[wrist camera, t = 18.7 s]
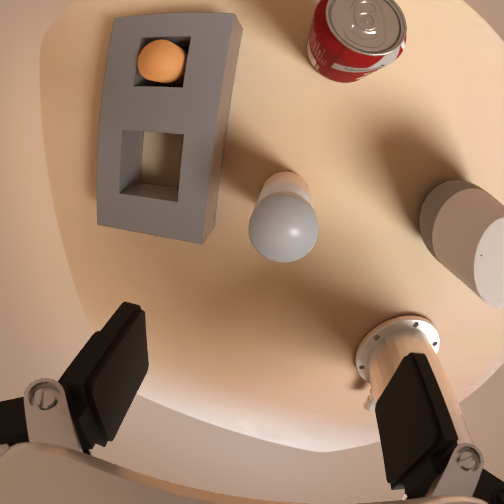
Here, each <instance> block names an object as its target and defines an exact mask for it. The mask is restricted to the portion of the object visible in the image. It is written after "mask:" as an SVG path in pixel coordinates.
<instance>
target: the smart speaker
mask: <svg viewBox="0 0 504 504" xmlns="http://www.w3.org/2000/svg"><path fill="white" fill-rule="evenodd" d="M419 225H420V232H421V236H422V238H423V241H424V243H425V245H426V247H427V248H428V250H429V251H430V253H431V254H432V255H433V256H434V257H435V258H436V259H437V260H438V261H439V262H440V263H441V264H442V265H443V266H444V267H446V268H447V269H448V270H449V271H450V272H451V273H453V274H454V275H455V276H456V277H457V278H458V279H460V280H461V281H462V282H463V283H464V284H465V285H467V286H468V287H469V288H470V289H471V290H472V291H473V292H474V293H476V294H477V295H478V296H479V297H480V298H481V299H482V300H483V301H484V302H486V303H487V304H488V305H490V306H492V307H495V308H504V205H502V204H501V203H500V202H499V201H498V200H496V199H495V198H494V197H493V196H492V195H490V194H489V193H488V192H486V191H485V190H483V189H482V188H480V187H478V186H476V185H475V184H472V183H470V182H467V181H461V180H452V181H447V182H444V183H442V184H440V185H438V186H436V187H435V188H434V189H433V190H432V191H431V192H430V193H429V194H428V196H427V197H426V199H425V200H424V203H423V205H422V208H421V211H420V217H419Z"/></svg>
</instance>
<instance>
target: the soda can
mask: <svg viewBox="0 0 504 504" xmlns="http://www.w3.org/2000/svg"><path fill="white" fill-rule="evenodd" d="M406 31H407V26H406V20H405V17H404V14H403V12H402V10H401V9H400V7H399V6H398V5H397V3H396V2H395V1H394V0H321V1H320V2H319V4H318V5H317V8H316V10H315V14H314V18H313V22H312V27H311V31H310V35H309V39H308V43H307V53H308V57H309V60H310V62H311V64H312V65H313V67H314V68H315V69H316V70H317V71H318V72H319V73H320V74H321V75H323V76H324V77H326V78H328V79H330V80H332V81H336V82H341V83H349V82H354V81H357V80H360V79H362V78H363V77H365V76H367V75H369V74H371V73H373V72H375V71H377V70H379V69H381V68H383V67H385V66H386V65H388V64H390V63H392V62H393V61H395V60H396V59H397V58H398V57H399V56H400V54H401V53H402V51H403V49H404V47H405V43H406Z"/></svg>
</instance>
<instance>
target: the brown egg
mask: <svg viewBox="0 0 504 504" xmlns="http://www.w3.org/2000/svg"><path fill="white" fill-rule="evenodd" d="M187 58H188V52H187V51H186V50H184V49H182V48H181V47H179V46H177V45H175V44H174V43H172V42H170V41H168V40H155V41H153V42H151V43H149V44H148V45H146V46H145V47H144V48H143V50H142V51H141V53H140V55H139V57H138V70H139V72H140V74H141V75H142V76H143V77H144V78H146V79H148V80H152V81H156V82H161V83H165V84H170V85H180V84H182V83H184V76H185V70H186V64H187Z"/></svg>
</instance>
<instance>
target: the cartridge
mask: <svg viewBox="0 0 504 504" xmlns="http://www.w3.org/2000/svg"><path fill="white" fill-rule="evenodd" d="M318 230H319V228H318V222H317V218H316V214H315V211H314V207H313V203H312V199H311V196H310V192H309V189H308V186H307V184H306V182H305V181H304V179H303V178H302V177H300V176H299V175H297V174H295V173H293V172H288V171H282V172H278V173H275V174H273V175H271V176H270V177H269V178H268V179H267V180H266V181H265V183H264V185H263V188H262V190H261V193H260V195H259V198H258V201H257V203H256V206H255V208H254V211H253V214H252V216H251V219H250V222H249V236H250V240H251V242H252V244H253V246H254V247H255V249H256V250H257V251H258V252H259V253H260V254H261V255H262V256H264V257H265V258H267V259H269V260H272V261H276V262H292V261H296V260H299V259H301V258H303V257H304V256H305V255H307V254H308V253H309V252H310V251H311V250H312V248H313V247H314V245H315V243H316V241H317V238H318Z"/></svg>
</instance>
